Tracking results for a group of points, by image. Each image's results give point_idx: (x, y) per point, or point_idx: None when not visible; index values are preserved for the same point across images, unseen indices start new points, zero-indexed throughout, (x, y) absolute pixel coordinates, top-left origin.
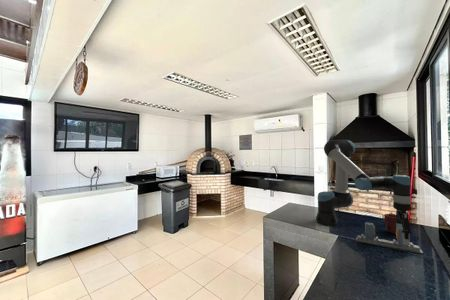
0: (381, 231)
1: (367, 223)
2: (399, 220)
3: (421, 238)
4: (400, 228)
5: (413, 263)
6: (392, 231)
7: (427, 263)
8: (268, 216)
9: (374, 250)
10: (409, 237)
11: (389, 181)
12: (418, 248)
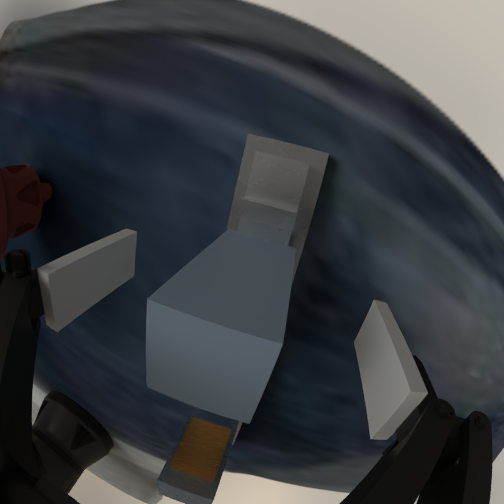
0: (45, 254)
1: (185, 500)
2: (25, 352)
3: (74, 66)
4: (218, 397)
5: (456, 304)
6: (41, 211)
7: (455, 222)
8: (139, 499)
9: (325, 417)
10: (410, 354)
11: None
12: (306, 174)
